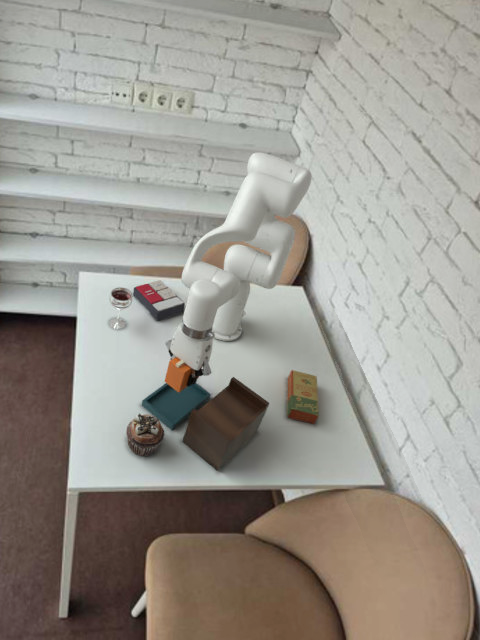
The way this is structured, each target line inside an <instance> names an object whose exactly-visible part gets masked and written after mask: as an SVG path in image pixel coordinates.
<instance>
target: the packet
mask: <svg viewBox="0 0 480 640" xmlns="http://www.w3.org/2000/svg"><path fill="white" fill-rule="evenodd" d="M201 369H203V367H202V366H201ZM189 375H191V367H190V366H188V365H187V364H186V363H184V361H182V360H180V359H179V358H177V357H175V358H174V359H172V360H169V362H168V366H167V369H166V373H165V378H164V383H165V384H166V383H167V384H168V385H170V386H171V387H172V388H173V389H175V390H176V391H177V392H181V391H182V390H183V389H185V388H186V387H187V382H188V378H189ZM198 379H200V376H198V378H197V380H198Z"/></svg>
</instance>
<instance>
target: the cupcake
mask: <svg viewBox="0 0 480 640" xmlns="http://www.w3.org/2000/svg"><path fill="white" fill-rule="evenodd" d="M127 424H128V425H127V426H126V432H125V433H126V438H127V444H128V447H129V449H130V451H131V452H132V454H134V455H137V456H139V457H149V456H150V457H151V456H152V455H153V454H155V453H156V451H157V450H158V449H159V447H160V445H161V444H162V443H163V440H164V439H165V430H164V427H163V425H162V422H161V421H160V420H159V419H157V418H156V417H155V416H154V415H153V414H150V413H146V414H141V413H135V415H134V417H133V419H132V420H131V421H130V422H129V423H127Z"/></svg>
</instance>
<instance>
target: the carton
mask: <svg viewBox="0 0 480 640" xmlns="http://www.w3.org/2000/svg"><path fill="white" fill-rule="evenodd" d="M286 390H287V393H286V394H287V396H286V398H287V400H286V418H288V419H292V420H296V421H300V422H304V423H307V424H313V425H315V423H316V422H317V420H318V419H319V416H320V413H319V396H318V395H319V394H318V377H317V375H313V374H310V373H305V372H301V371H298V370H293V369H291V370H290V372H289V375H288V376H287V389H286Z"/></svg>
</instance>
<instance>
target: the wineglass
mask: <svg viewBox="0 0 480 640" xmlns="http://www.w3.org/2000/svg"><path fill="white" fill-rule="evenodd" d="M133 296H134V295H133V292H132V291H131V290H130V289H128V288H126V287H119V286H118V287H115V288H113V289H112V290H111V291H110V296H109V303H110V304H111V306H112V307H113V308H114V309H116V310H118V311H117V318H113V319H111V320H110V321H109V325H110V327H111V328H113V329H114V330H115V329H116V330H121V329H124V328H125V327H126V321H124V319H122V318H120V316H121V311H124V310H126V309H128V308H129V307H131V306H132V303H133Z"/></svg>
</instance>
